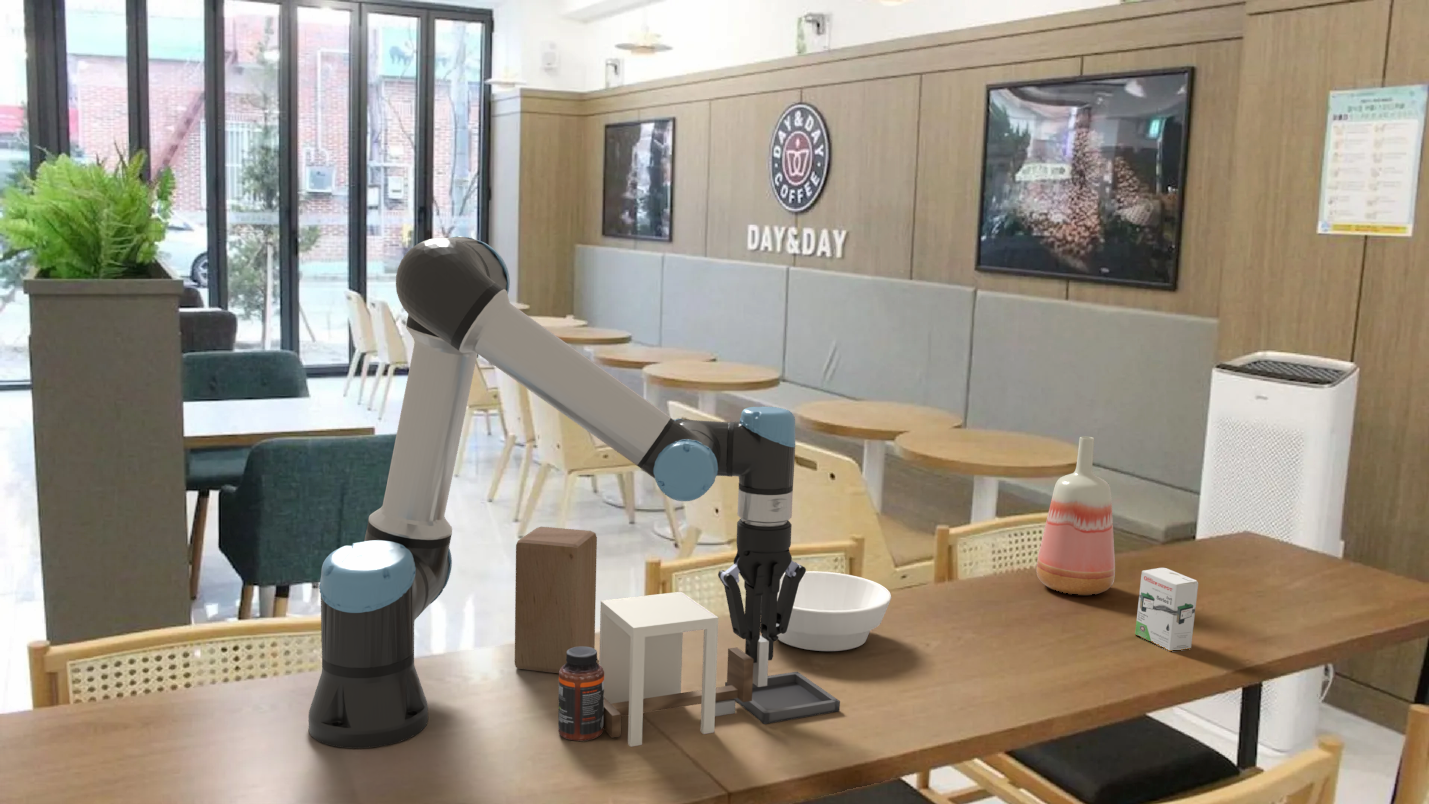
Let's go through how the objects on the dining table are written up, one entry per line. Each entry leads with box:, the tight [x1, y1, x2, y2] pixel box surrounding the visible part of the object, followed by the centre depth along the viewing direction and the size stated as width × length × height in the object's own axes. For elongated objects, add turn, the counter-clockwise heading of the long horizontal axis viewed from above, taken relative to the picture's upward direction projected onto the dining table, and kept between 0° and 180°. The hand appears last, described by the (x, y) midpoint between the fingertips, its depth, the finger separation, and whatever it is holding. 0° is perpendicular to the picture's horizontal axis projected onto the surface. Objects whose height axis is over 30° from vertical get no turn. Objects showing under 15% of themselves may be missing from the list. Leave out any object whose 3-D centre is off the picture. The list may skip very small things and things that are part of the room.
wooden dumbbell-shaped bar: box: [603, 646, 754, 739], centre depth 163 cm, size 21×7×8 cm, turn 116°
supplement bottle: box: [557, 646, 604, 742], centre depth 157 cm, size 6×6×11 cm
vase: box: [1035, 435, 1116, 596], centre depth 228 cm, size 14×14×30 cm
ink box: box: [1134, 567, 1199, 651], centre depth 201 cm, size 9×5×12 cm, turn 23°
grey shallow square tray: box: [724, 671, 841, 725], centre depth 170 cm, size 12×12×2 cm
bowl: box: [761, 570, 892, 652], centre depth 197 cm, size 22×22×8 cm
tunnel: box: [598, 591, 736, 748], centre depth 162 cm, size 18×12×16 cm
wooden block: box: [514, 526, 598, 674], centre depth 181 cm, size 10×10×20 cm
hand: (758, 682), depth 168 cm, fingers closed
